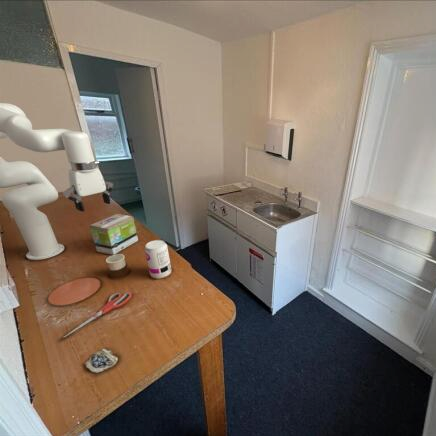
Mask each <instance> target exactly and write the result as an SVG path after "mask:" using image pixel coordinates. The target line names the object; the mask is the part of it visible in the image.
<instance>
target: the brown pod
mask: <svg viewBox="0 0 436 436" xmlns="http://www.w3.org/2000/svg"><path fill="white" fill-rule="evenodd" d="M125 264H126V265H125V266H124V267H123V268H121V269H119V270H110V269H109V266H108V267H107V271H108V274H109V277H110V278H112V279H118V278H122V277H124V276H126V275H128V274H129V266H128V263H127V262H126V261H125Z"/></svg>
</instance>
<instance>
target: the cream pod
mask: <svg viewBox="0 0 436 436" xmlns="http://www.w3.org/2000/svg"><path fill="white" fill-rule="evenodd" d="M125 258H126V257H125V254H122V253H116V254H115V255H109V257H107V258H106V259H105V262H106V264H107V265H108V267H109V269H110V270H119V269H121V268H123V267H124V266H125V265H126V264H125V262H126V261H125Z"/></svg>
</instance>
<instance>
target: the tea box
mask: <svg viewBox="0 0 436 436" xmlns="http://www.w3.org/2000/svg"><path fill="white" fill-rule="evenodd" d="M89 228H90V232H91V235H92V240H93V242H94V245H95V249H96V252H98V253H101V254H107V255H110V256H112V255H116V254H119V252H121V251H122V250H125V249H126V248H128V247H129V246H131V245H133V244H135V243H137V242H139V237H138V233H137V228H136V223H135V219H134V216H132V215H126V214H122V213H116V214H113V215H111V216H108V217H106V218H104V219H101V220H98V221H96V222H94V223H91V224H90V225H89Z"/></svg>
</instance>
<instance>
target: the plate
mask: <svg viewBox="0 0 436 436" xmlns="http://www.w3.org/2000/svg"><path fill="white" fill-rule="evenodd" d="M100 286H101V281H100V280H99V279H97V278H95V277H81V278H77V279H73V280H71V281H68V282H65V283H63V284H61V285H60V286H58V287H56V288H55V289H54V290H52V292H51V293H50V294H49V296H48V298H47V299H48V303H49V304H51V305H54V306H67V305H72V304H75V303H78V302H80V301H82V300H83V301H84V300H86V299H87V298H89V297H90V296H92V295H94V293H96V292H97V291H98V289H99V288H100Z"/></svg>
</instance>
